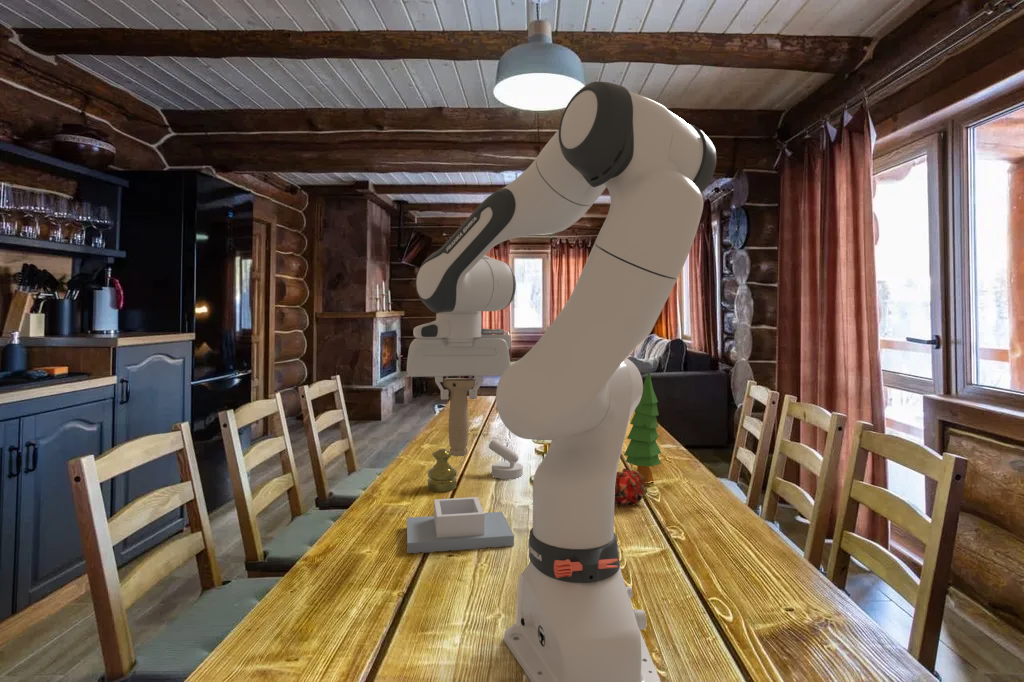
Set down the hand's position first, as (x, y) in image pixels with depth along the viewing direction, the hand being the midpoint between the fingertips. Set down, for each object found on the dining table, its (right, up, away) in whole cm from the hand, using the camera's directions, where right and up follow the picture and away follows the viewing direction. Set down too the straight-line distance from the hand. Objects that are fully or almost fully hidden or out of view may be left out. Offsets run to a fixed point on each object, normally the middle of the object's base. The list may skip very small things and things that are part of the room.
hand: (458, 399), depth 107 cm
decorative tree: (+45, -26, +39) cm, 65 cm away
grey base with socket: (0, -27, +1) cm, 28 cm away
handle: (0, -11, +1) cm, 11 cm away
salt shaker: (-7, -26, +32) cm, 42 cm away
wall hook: (+9, -26, +44) cm, 52 cm away
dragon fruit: (+38, -27, +22) cm, 51 cm away
